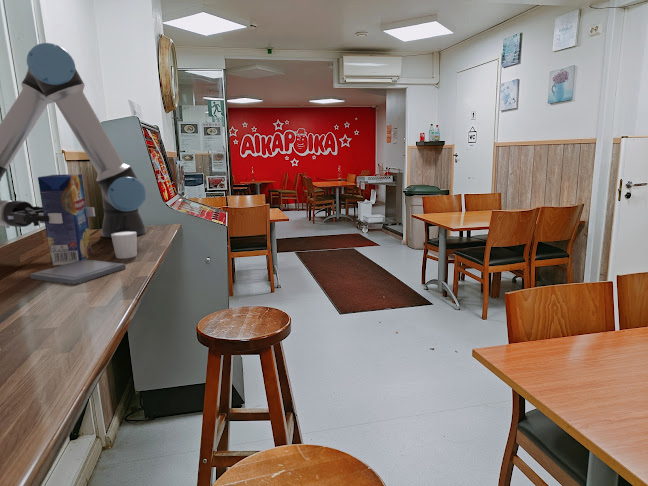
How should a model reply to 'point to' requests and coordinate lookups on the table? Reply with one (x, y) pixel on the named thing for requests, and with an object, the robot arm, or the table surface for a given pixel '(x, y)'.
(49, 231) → the juice carton
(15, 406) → the table surface
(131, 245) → the white cup
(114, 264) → the slate board
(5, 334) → the table surface
